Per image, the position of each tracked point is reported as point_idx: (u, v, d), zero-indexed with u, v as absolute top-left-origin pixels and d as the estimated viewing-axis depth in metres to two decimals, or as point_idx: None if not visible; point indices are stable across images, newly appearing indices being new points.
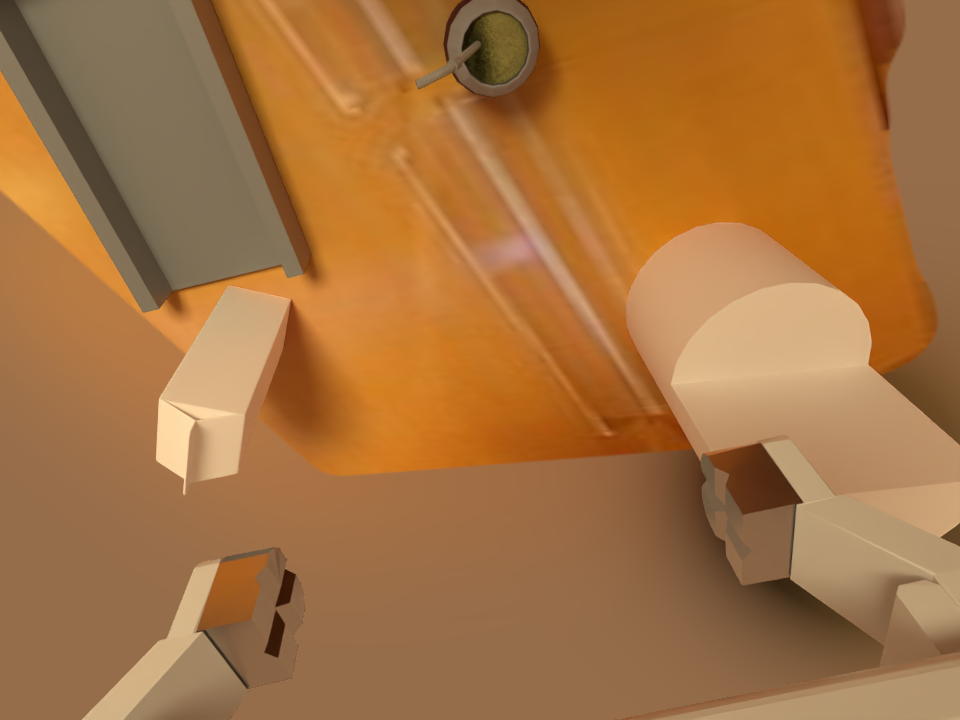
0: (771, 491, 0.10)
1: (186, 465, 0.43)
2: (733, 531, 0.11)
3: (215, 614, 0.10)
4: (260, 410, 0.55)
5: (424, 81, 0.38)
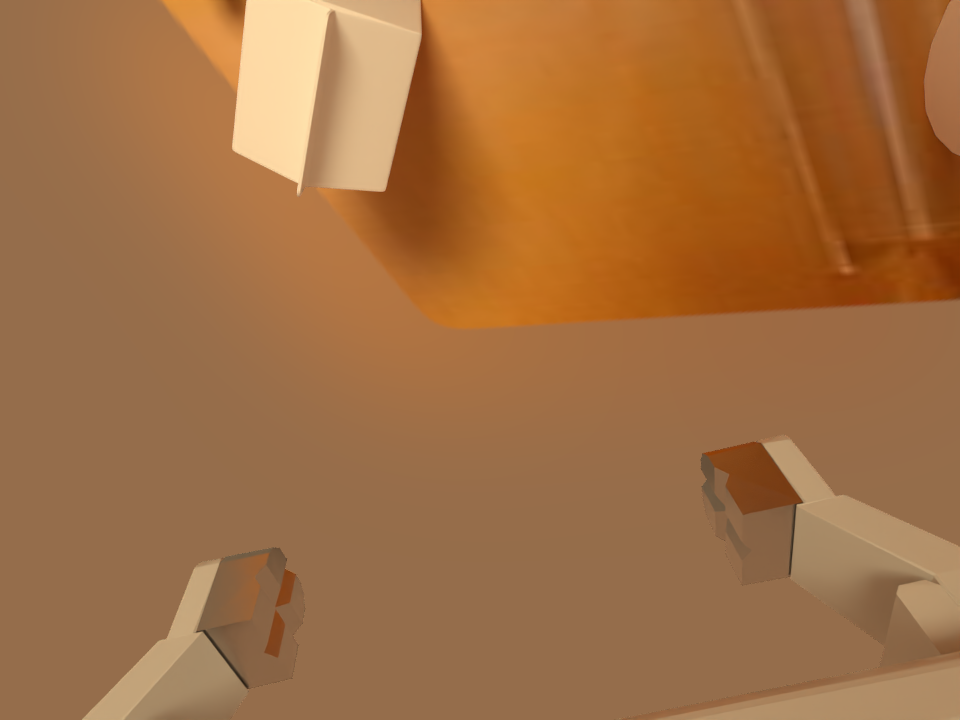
0: (771, 491, 0.10)
1: (311, 110, 0.20)
2: (733, 531, 0.11)
3: (216, 614, 0.10)
4: None
5: None
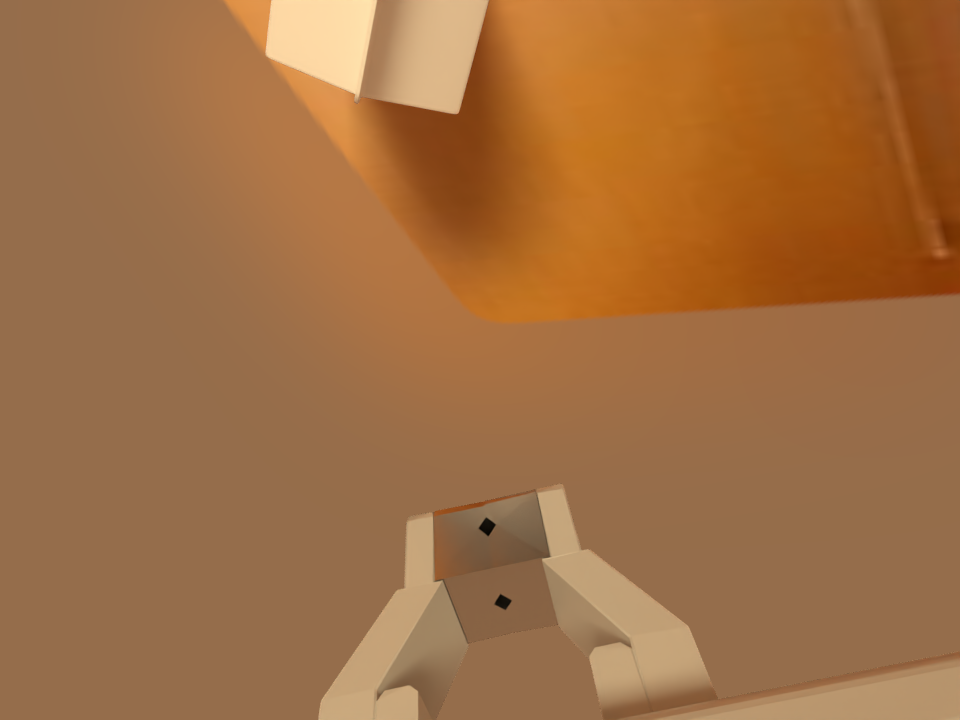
0: (526, 544, 0.10)
1: None
2: None
3: (450, 564, 0.10)
4: None
5: None
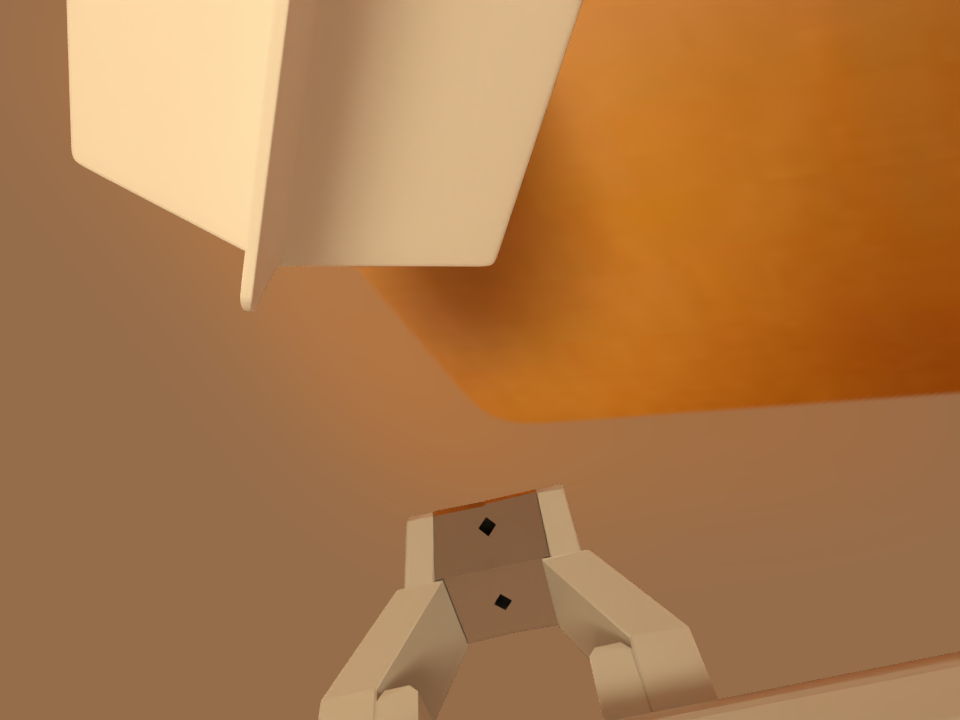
0: (526, 543, 0.10)
1: None
2: None
3: (451, 564, 0.10)
4: None
5: None
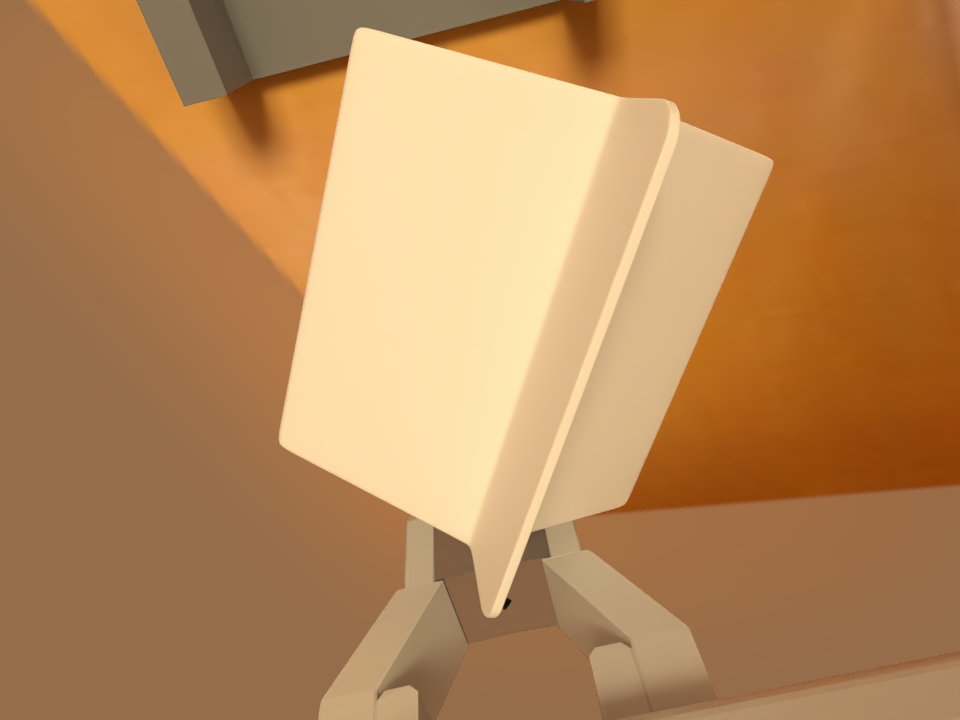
0: None
1: (575, 400, 0.06)
2: None
3: (451, 564, 0.10)
4: None
5: None
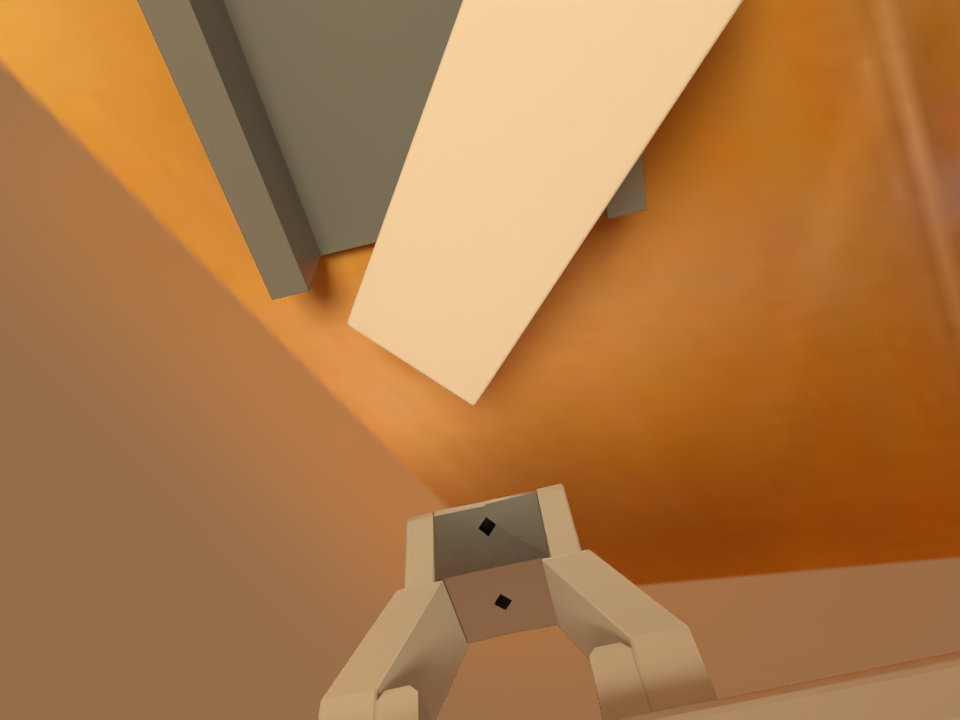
0: (526, 543, 0.10)
1: None
2: None
3: (450, 564, 0.10)
4: None
5: None
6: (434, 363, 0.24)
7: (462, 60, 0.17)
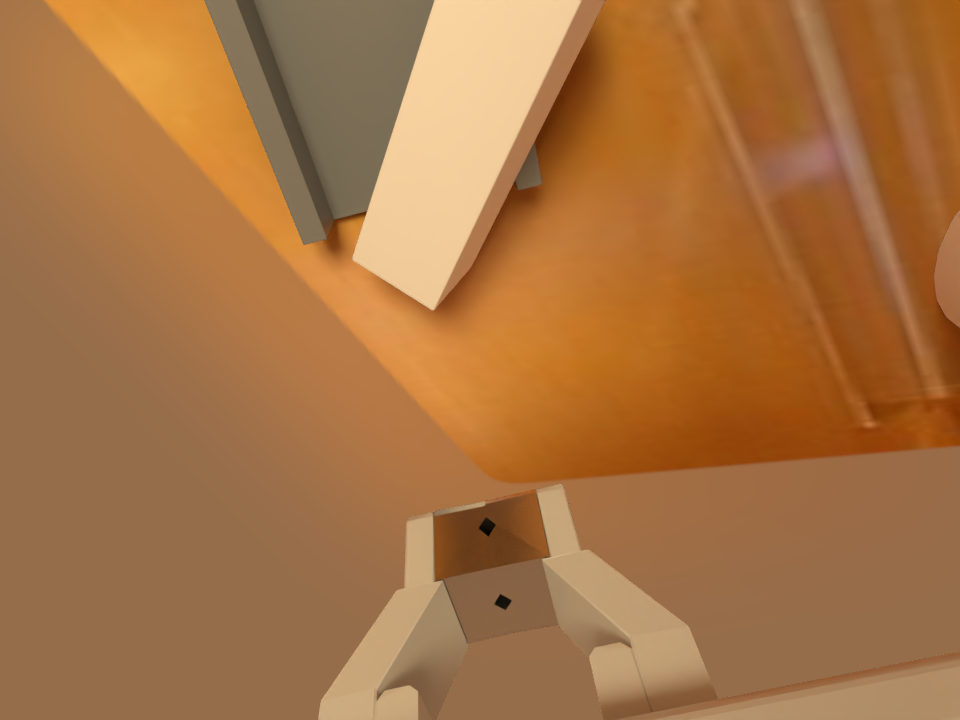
0: (526, 543, 0.10)
1: None
2: None
3: (450, 564, 0.10)
4: (507, 158, 0.30)
5: None
6: (407, 283, 0.37)
7: (415, 96, 0.30)
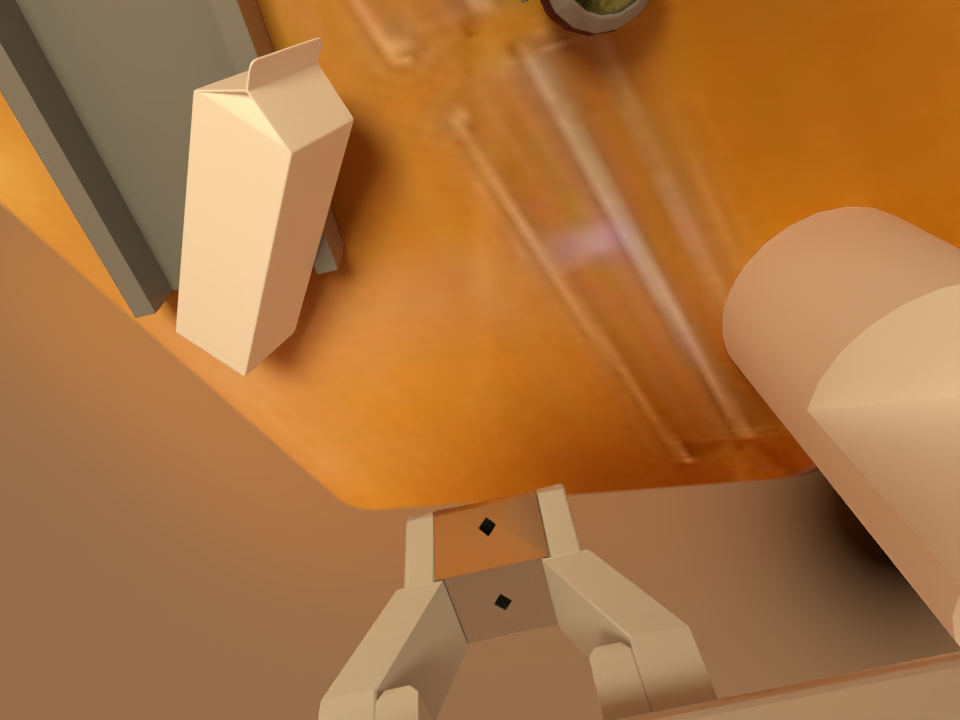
0: (526, 544, 0.10)
1: (290, 47, 0.31)
2: None
3: (450, 564, 0.10)
4: (270, 265, 0.37)
5: None
6: (220, 353, 0.43)
7: (192, 214, 0.36)
